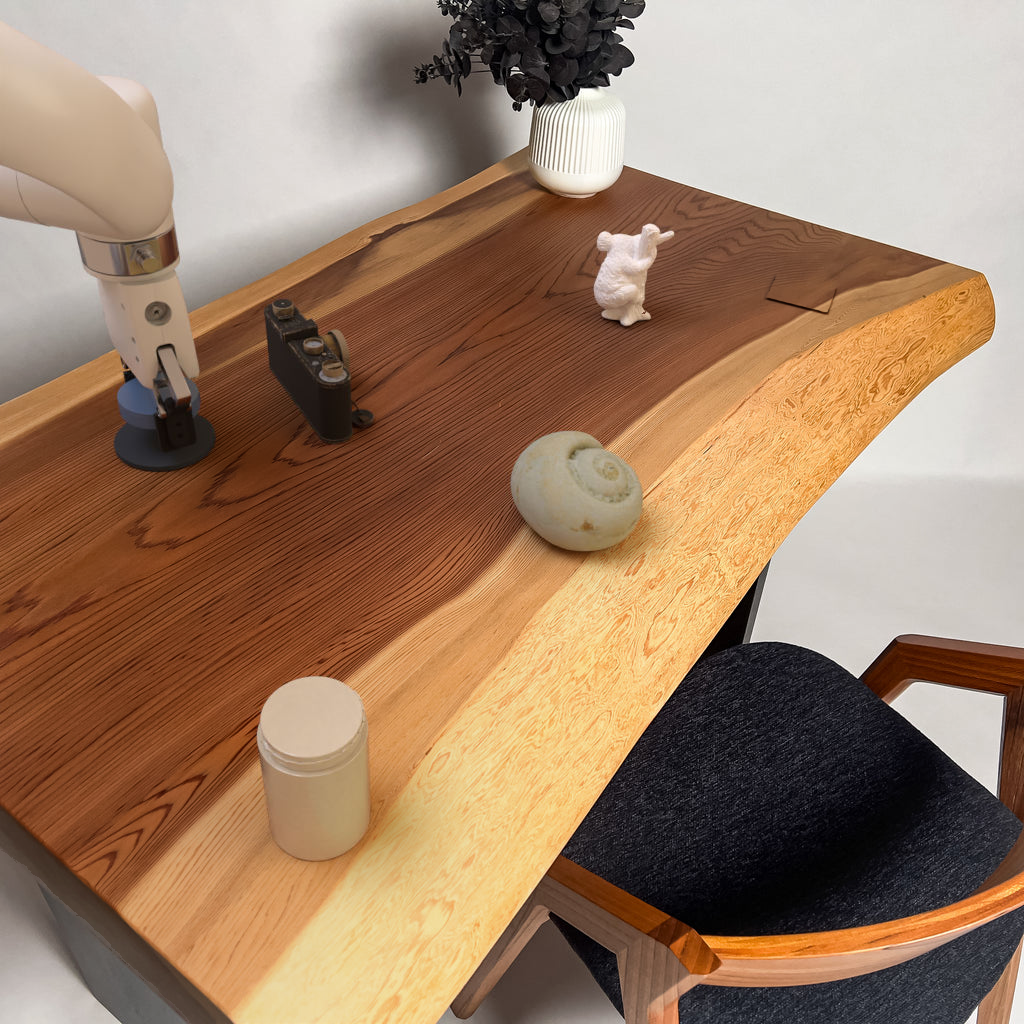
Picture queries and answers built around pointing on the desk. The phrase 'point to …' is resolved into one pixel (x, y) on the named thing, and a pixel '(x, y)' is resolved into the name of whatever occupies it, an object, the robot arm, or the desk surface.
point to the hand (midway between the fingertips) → (162, 423)
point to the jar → (315, 767)
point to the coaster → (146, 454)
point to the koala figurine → (626, 272)
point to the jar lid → (148, 402)
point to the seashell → (576, 492)
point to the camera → (313, 371)
